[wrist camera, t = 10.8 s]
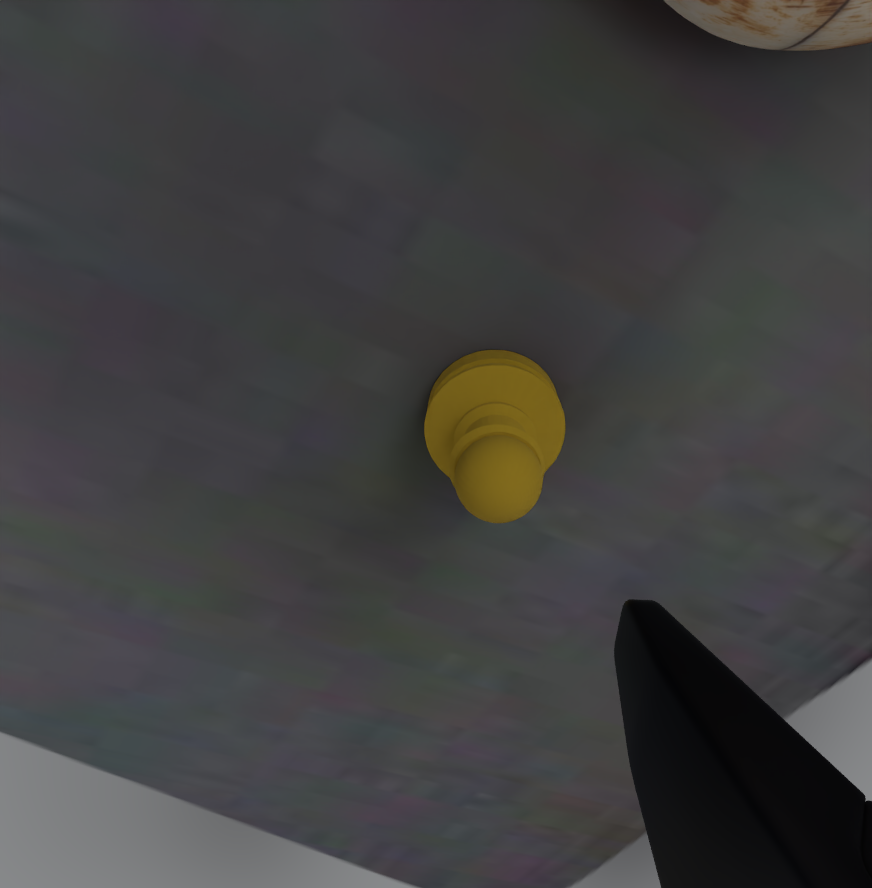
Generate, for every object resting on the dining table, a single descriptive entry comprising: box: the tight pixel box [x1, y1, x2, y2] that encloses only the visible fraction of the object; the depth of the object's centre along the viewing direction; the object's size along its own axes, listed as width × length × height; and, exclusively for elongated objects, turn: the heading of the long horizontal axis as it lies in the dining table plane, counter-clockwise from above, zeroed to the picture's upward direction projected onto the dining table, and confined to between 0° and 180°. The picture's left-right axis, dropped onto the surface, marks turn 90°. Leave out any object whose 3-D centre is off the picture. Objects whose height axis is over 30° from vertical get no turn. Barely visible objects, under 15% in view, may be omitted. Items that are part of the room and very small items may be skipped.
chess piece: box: [424, 350, 566, 523], centre depth 17 cm, size 4×4×5 cm
